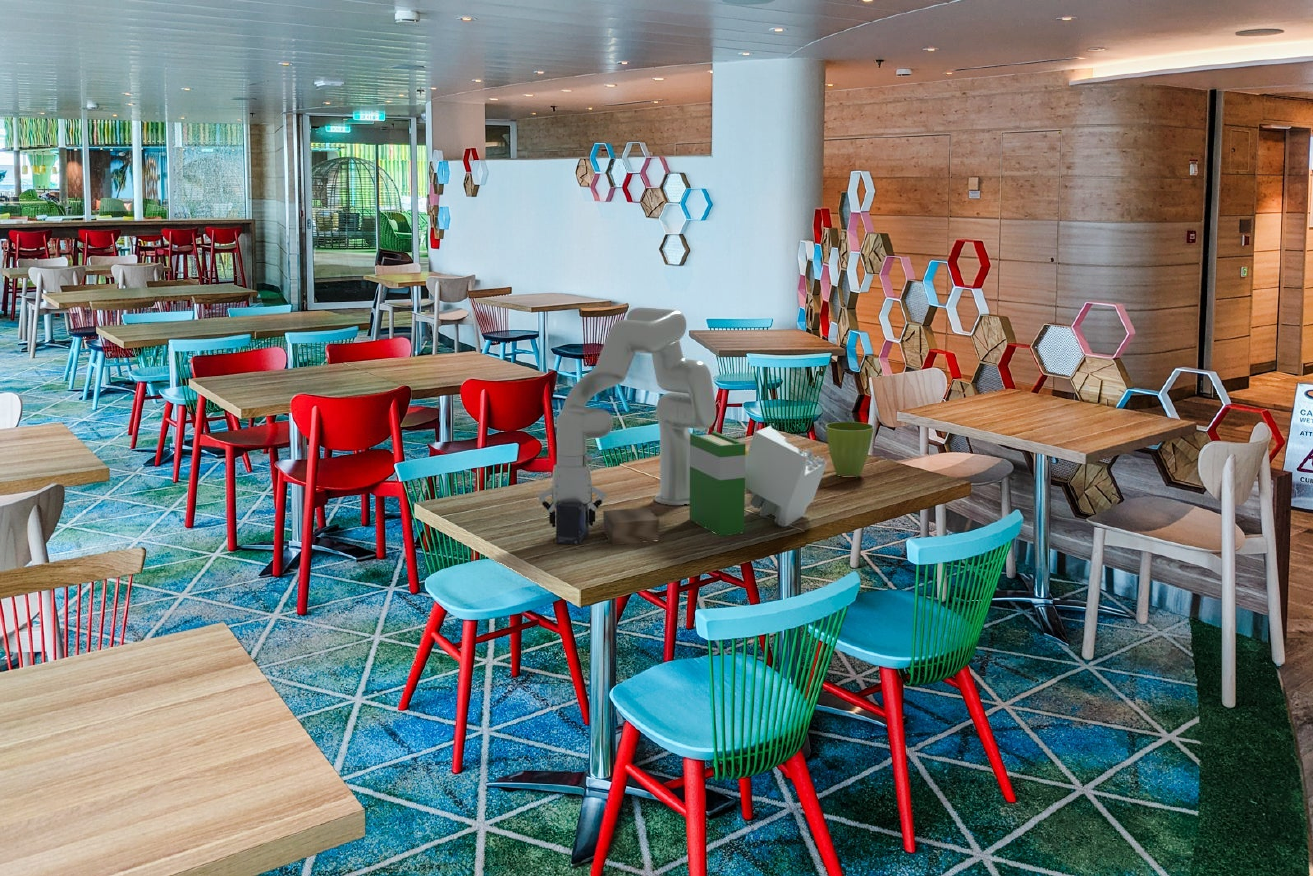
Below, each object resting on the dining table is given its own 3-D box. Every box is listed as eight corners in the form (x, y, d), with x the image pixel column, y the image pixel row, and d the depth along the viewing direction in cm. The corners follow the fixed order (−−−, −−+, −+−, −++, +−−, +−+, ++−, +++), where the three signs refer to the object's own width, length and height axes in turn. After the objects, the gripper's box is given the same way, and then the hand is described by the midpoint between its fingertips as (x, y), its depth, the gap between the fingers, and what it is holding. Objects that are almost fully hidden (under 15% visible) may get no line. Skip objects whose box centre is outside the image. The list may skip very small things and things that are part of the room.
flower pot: (823, 480, 361) (824, 429, 358) (824, 469, 375) (826, 420, 372) (872, 481, 358) (874, 431, 355) (871, 470, 373) (873, 422, 370)
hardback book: (689, 519, 317) (690, 433, 312) (713, 516, 320) (714, 431, 315) (719, 536, 301) (720, 446, 296) (744, 532, 304) (745, 443, 299)
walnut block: (647, 529, 308) (647, 507, 307) (658, 542, 297) (658, 519, 296) (603, 532, 305) (603, 510, 304) (612, 545, 294) (612, 522, 293)
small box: (579, 545, 293) (579, 505, 291) (555, 544, 294) (554, 504, 292) (590, 534, 303) (590, 495, 301) (566, 532, 305) (565, 494, 302)
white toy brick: (758, 496, 331) (787, 418, 321) (806, 521, 324) (837, 443, 315) (725, 513, 314) (754, 431, 304) (775, 540, 307) (806, 458, 298)
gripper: (603, 456, 299) (604, 520, 303) (536, 458, 297) (537, 522, 300) (607, 462, 292) (607, 528, 296) (538, 464, 290) (539, 530, 293)
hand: (572, 525), depth 298 cm, fingers open, 9 cm apart
